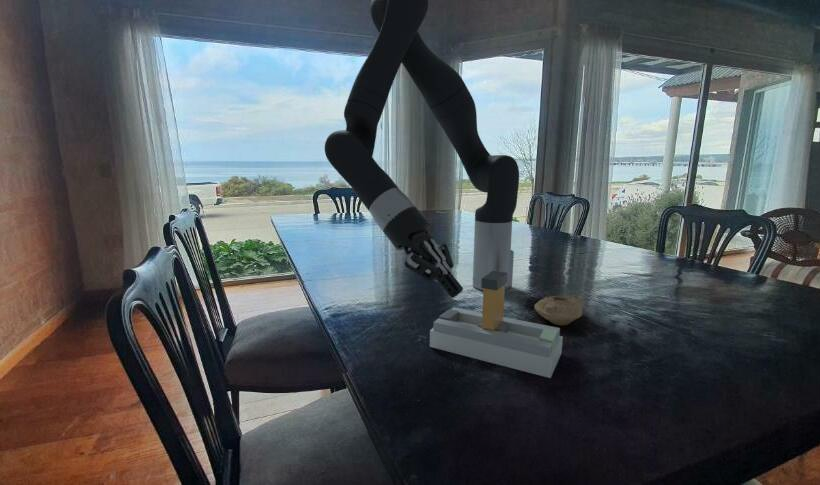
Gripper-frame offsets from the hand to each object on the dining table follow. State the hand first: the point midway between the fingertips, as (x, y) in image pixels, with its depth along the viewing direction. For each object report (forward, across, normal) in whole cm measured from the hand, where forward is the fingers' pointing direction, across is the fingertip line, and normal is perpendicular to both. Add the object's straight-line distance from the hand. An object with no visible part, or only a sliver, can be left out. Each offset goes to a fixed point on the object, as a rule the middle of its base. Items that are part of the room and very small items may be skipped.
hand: (458, 294), depth 68 cm
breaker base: (+11, 0, +1) cm, 11 cm away
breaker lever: (+8, 0, -1) cm, 8 cm away
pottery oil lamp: (+17, +20, -4) cm, 27 cm away
